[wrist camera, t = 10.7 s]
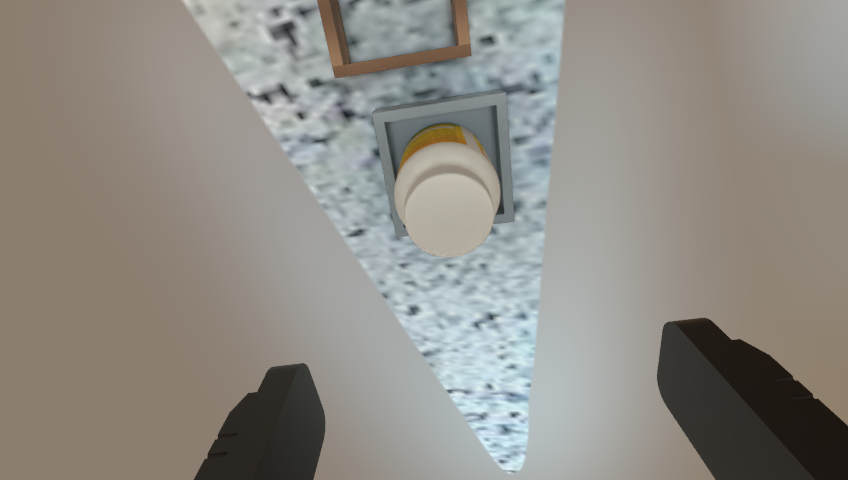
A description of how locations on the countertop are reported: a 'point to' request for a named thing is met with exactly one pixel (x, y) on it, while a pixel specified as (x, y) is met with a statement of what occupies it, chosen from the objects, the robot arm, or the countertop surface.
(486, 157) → the supplement bottle
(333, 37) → the wooden square frame
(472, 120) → the tray
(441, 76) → the countertop surface
